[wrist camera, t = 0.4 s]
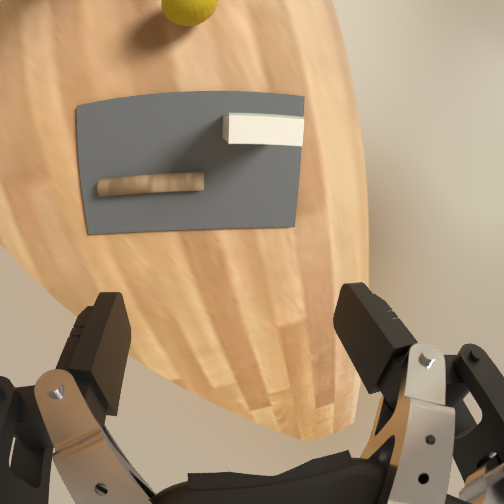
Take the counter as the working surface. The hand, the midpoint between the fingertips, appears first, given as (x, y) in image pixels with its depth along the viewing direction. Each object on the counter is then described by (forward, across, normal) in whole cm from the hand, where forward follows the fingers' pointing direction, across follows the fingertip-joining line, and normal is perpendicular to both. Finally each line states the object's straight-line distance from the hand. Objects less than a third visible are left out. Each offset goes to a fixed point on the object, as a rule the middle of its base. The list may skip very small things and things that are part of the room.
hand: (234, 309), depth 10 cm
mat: (+24, +3, -1) cm, 24 cm away
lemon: (+25, +3, -19) cm, 31 cm away
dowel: (+24, +7, +1) cm, 25 cm away
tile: (+24, -4, -5) cm, 25 cm away
